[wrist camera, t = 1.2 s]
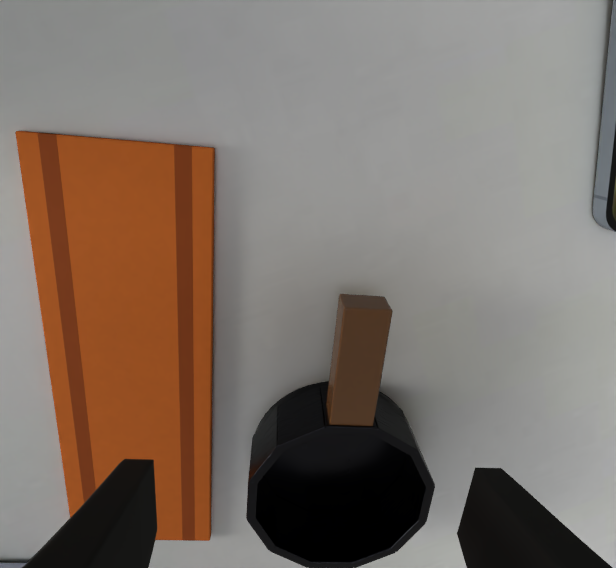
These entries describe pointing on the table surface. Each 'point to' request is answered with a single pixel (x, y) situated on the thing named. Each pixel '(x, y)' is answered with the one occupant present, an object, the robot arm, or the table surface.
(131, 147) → the orange flat board
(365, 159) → the table surface
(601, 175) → the smartphone
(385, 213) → the table surface
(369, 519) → the pan
